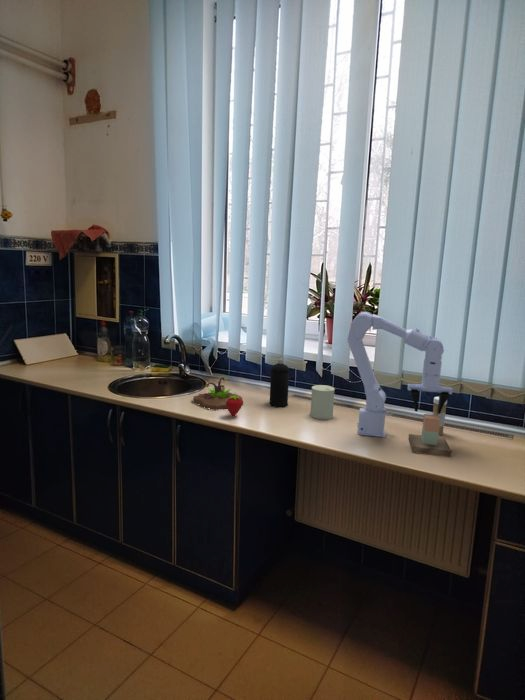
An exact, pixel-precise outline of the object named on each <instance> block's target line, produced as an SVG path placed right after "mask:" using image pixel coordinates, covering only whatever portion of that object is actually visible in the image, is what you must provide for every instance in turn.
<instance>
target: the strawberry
mask: <svg viewBox="0 0 525 700" xmlns="http://www.w3.org/2000/svg"><path fill="white" fill-rule="evenodd" d="M237 395H238V394H237ZM237 395H235V396H234V395H233V396H230V397H229V399H228V400H227V402H226V406H227V409H228V410H227V411H228V412H229V415H231V416H232V417H233V416H234V417H236V415H237V414H238V413H239V411H240V410H241V409H242V407H243V406H242V400H243V398H242V399H241V398H239V397H240V396H241V395H239V396H237Z"/></svg>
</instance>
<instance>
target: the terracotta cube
mask: <svg viewBox="0 0 525 700" xmlns="http://www.w3.org/2000/svg"><path fill="white" fill-rule="evenodd" d="M422 420H423V421H422V427H423V428H424V431H430V432H439V425H440V418H439V416H438V415H433V414H430V413H423V419H422Z"/></svg>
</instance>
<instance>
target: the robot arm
mask: <svg viewBox="0 0 525 700" xmlns="http://www.w3.org/2000/svg"><path fill="white" fill-rule="evenodd" d="M371 328H372V329H371ZM370 329H371V330H372V331H373V330H374V331H375V330H383V331H385V332H388V333H390V334H392V335H395V336H397V337H399V338H402V339H403V342H404V344H406V345H407V346H409V347H412V348H413V349H414V348H415V350H418V351H421V352H425V353H424V354H425V356H424V359H423V365H422V366H423V367H422V377H421V383H407V390H408V391H410V393H411V396H412V400H413V406H414V412H418V408H419V407H418V406H419V405H418V404H419V396H420V393H419V392H429V393H438V394H439V395H438V397H439V404H438V411H437V412H438V414H440V413H441V410H442V407H443V405H444V404H445V402H446V400H447V401H448V399H449V398H450V395H453V391H454V389H453V388H452V386H443V385H440V379H441V369H442V360H443V359H442V357H443V356H442V355H443V354H444V353H445V352H444V351H445V349H444V346H443V342H442V341H441V340H440V339H438V338H437V337H433V335H431V334H430V335H428V334H426V333H423V332H422V331H420V329H419V328H409V329H406V328H405V327H402V326H400V325H398V324H397V323H394V322H393V321H390V320H389V319H386V318H384V317H383V316H381V315H378V314H374V313H373V314H372V313H371V312H369V311H362V312H360V313H358V314H357V315H356V316H355V317H354V319H352V321H351V323H350V328H349V331H348V335H347V336H348V337H347V342H348V346H349V350H350V351H351V354H352V357H353V360H354V362H355V364H356V367H357V368H356V369H357V370H358V373H359V376H360V378H361V381H362V382H361V383H363V388H364V394H365V396H366V398H365V399H366V400H365V404H366V405H365V406H364V407H359V414H358V422H357V425H356V427H357V429H358V430H357V434H358V436H359V435H360V436H369V437H370V436H371V437H378V438H379V437H380V438H386V431H385V430H386V429H385V423H386V411H387V408H386V407H385V403H386V401H387V394H386V393H385V391H384V390H383V389H382V387H381V386H380V383H379V382H378V380H377V378H376V375H375V373H374V369H373V367H372V364H371V361H370V358H369V356H368V352H367V351H366V348H365V345H364V341H363V339H364V338H365V336H366V334H367V332H368V331H369V330H370Z"/></svg>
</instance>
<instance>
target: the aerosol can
mask: <svg viewBox="0 0 525 700" xmlns="http://www.w3.org/2000/svg"><path fill="white" fill-rule="evenodd" d="M290 370H291V369H290V367H289V366H288V365H286V364H285V363H284V359H283V358H282V357H281V358H278V359H277V363H275V364H273V365H272V366H271V367H270V382H269V383H270V384H269V389H270V390H269V402H268V405H269V404H270V405H271V406H270V405H269V406H270V407H272V406H275V407H274V408H278V407H282V408H286V407H285V406H287V405H288V406H289V402H288V400H289V381H290ZM288 406H287V407H288Z"/></svg>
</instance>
